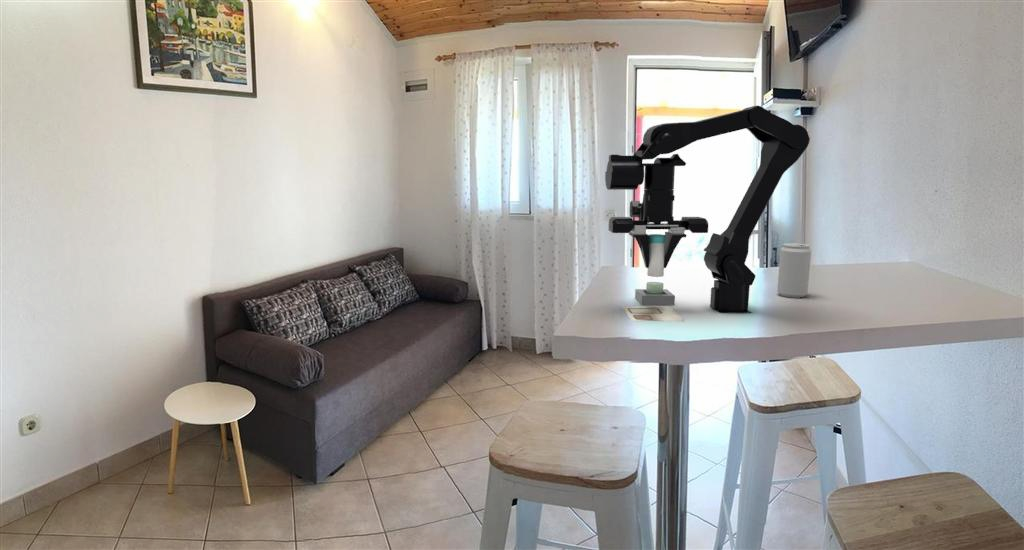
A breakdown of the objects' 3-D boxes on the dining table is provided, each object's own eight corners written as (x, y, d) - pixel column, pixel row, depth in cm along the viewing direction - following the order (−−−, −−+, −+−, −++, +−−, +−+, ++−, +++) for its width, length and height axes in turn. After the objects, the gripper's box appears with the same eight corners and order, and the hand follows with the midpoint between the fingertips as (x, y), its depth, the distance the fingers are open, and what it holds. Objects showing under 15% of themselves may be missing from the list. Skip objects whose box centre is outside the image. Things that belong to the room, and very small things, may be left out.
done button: (660, 292, 132) (661, 281, 131) (664, 296, 128) (665, 284, 128) (644, 292, 132) (644, 281, 131) (648, 296, 128) (648, 284, 128)
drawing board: (672, 307, 126) (672, 305, 126) (691, 324, 113) (691, 321, 113) (615, 307, 127) (615, 305, 126) (628, 324, 113) (628, 321, 113)
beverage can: (810, 299, 135) (815, 246, 133) (780, 297, 137) (784, 245, 135) (803, 293, 142) (807, 243, 139) (774, 292, 143) (778, 242, 141)
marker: (661, 274, 123) (663, 234, 121) (665, 276, 120) (667, 236, 118) (645, 274, 123) (647, 234, 121) (649, 276, 120) (650, 236, 118)
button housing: (666, 300, 134) (666, 289, 133) (674, 307, 127) (674, 295, 127) (634, 300, 134) (635, 289, 133) (641, 307, 127) (641, 295, 127)
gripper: (694, 188, 126) (690, 261, 129) (605, 188, 126) (603, 261, 129) (711, 190, 115) (706, 270, 118) (614, 190, 115) (611, 270, 118)
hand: (655, 267), depth 121 cm, fingers closed on marker, 3 cm apart
